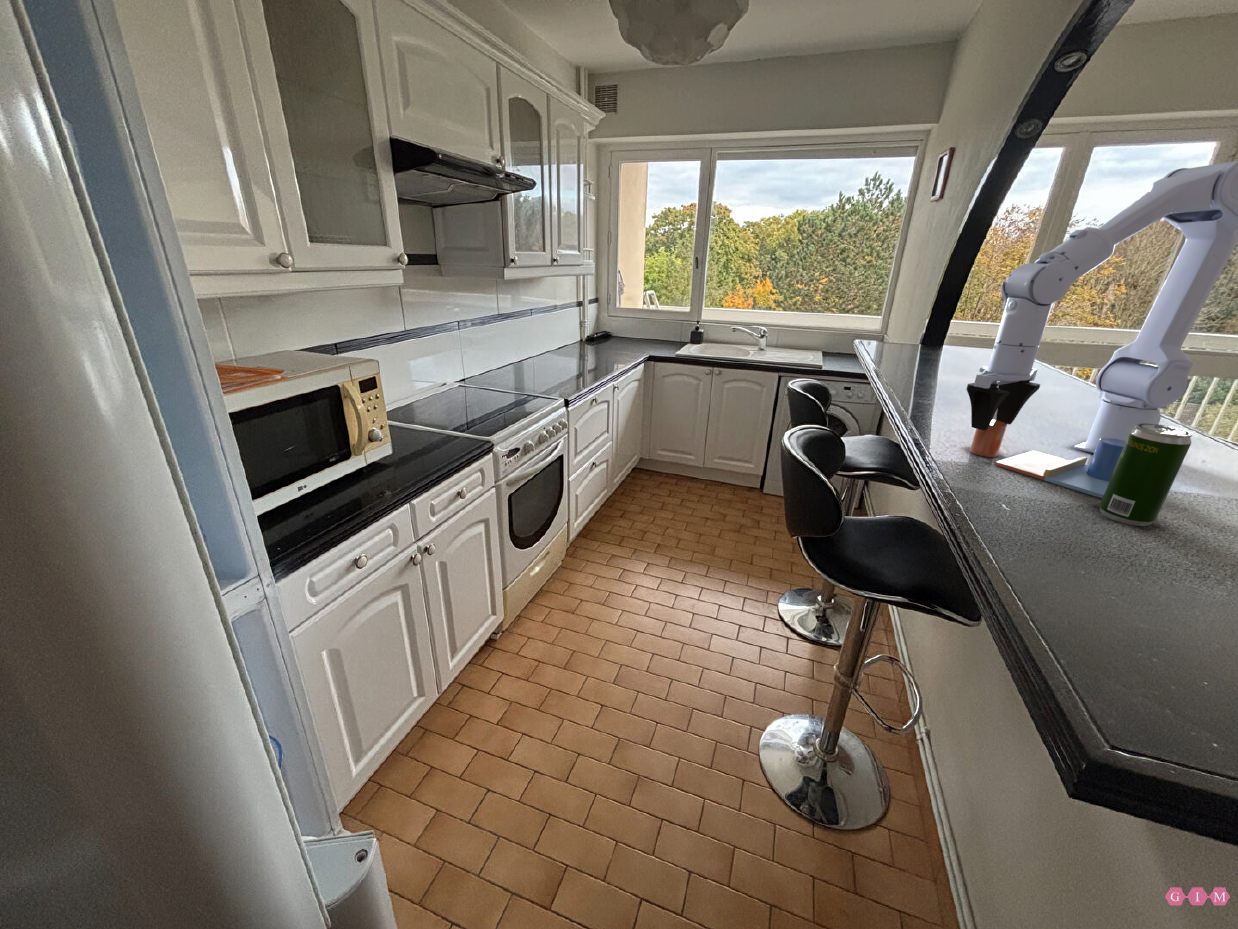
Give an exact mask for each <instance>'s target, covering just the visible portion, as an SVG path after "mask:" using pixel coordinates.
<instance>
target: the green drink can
mask: <svg viewBox="0 0 1238 929" xmlns="http://www.w3.org/2000/svg"><path fill="white" fill-rule="evenodd" d="M1192 437H1193V432H1191V431H1189V430H1186V429H1183V428H1180V427H1176V426H1170V425H1164V424H1160V423H1159V424H1149V423H1138V424H1136V425H1135V428H1134V429H1132V430H1131V431H1130V433H1129V435H1128V438H1127V440H1126V443H1125V445H1124V447H1123V450H1122V452H1121V455H1120V457H1119V460H1118V462H1117V464H1116V467H1115V469H1114V472H1113V474H1112V476H1111V479H1110V481H1109V484H1108V486H1107V489H1106V491H1105V493H1104V496H1103V498H1101V500H1100V503H1099V512H1100V514H1101V515H1103V517H1106V518H1107V519H1109V520H1111V521H1115V522H1117V523H1121V524H1125V525H1129V526H1135V527H1147V526H1150V525H1152V524H1153V523H1154V522H1156V520H1157V518H1158V516H1159V514H1160V512H1161V510H1162V507H1163V505H1164V503H1165V501H1166V499H1167V497H1168V495H1169V492H1170V490H1171V488H1172V486H1173V484H1174V482H1175V480H1176V477H1177V475H1178V474H1179V471H1180V469H1181V467H1182V465H1183V462H1184V460H1185V458H1186V457H1187V456H1186V455H1187V454H1188V452H1189V450H1190V447H1191V445H1192V439H1191V438H1192Z"/></svg>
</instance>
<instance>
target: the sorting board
mask: <svg viewBox="0 0 1238 929" xmlns="http://www.w3.org/2000/svg"><path fill="white" fill-rule="evenodd" d="M1087 460H1088V457H1086V456H1081V457H1080V456H1079V457H1077V458H1074V459H1071V460H1070V459H1066V458H1063V457H1059V456H1054V455H1051V454H1047V453H1044V452H1041V451H1038V450H1031V451H1030V450H1029V451H1027V452H1024V453H1020V454H1015V455H1013V456H1010V457H1007V458H1006V457H1005V458H1003V459H1000V460H997V461H995V462H994V464H993V465H994V466H995V467H999V468H1003V469H1006V470H1009V471H1013V472H1015V473H1018V474H1022V475H1025V476H1028V477H1031V478H1035V479H1038V480H1041V481H1044V482H1048V483H1051V484H1054V485H1057V486H1060V487H1064V488H1066V489H1070V490H1073V491H1077V492H1079V493H1082V494H1087V495H1089V496H1092V497H1096V498H1099V499H1102V498H1103V496H1104V493H1105V491H1106V489H1107V486H1108V484H1109V481H1105V480H1101V479H1097V478H1094V477H1091V476H1089V475H1088V474H1087V470H1088V468H1089V465H1088V464H1087Z"/></svg>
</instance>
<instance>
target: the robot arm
mask: <svg viewBox="0 0 1238 929" xmlns="http://www.w3.org/2000/svg"><path fill="white" fill-rule="evenodd" d="M1162 219H1164V220H1166V221H1167V222H1168V223H1169V224H1170V225H1172V226H1173V227H1174V228H1176V229H1177V230H1179V231H1181V232H1182V234H1183V236H1184V237H1185V241H1184V244H1183V245H1182V248H1181V250H1180V251H1179V253H1178V255H1177V257H1176V259H1175V261H1174V263H1173V265H1172V268H1171V269H1170V271H1169V273H1168V275H1167V277H1166V278H1165V281H1164V283H1163V285H1162V287H1161V289H1160V291H1159V293H1158V294H1157V296H1156V299H1155V301H1154V303H1153V305H1152V307H1151V309H1150V311H1149V313H1148V315H1147V316H1146V318H1145V320H1144V323H1143V325H1142V326H1141V329H1140V330H1139V332H1138V335H1137V336H1136V339H1135V340H1134V341H1133V342H1131V343H1129V344H1127V345H1124V346H1122V347H1121V348H1118V349H1116V350H1114V353H1113V354H1112V356H1111V358H1110V360H1109V361H1108V362H1107V363H1106V364H1105V365H1104V366H1103V367H1102V368H1101V369H1100V371H1099V372H1098V374H1097V376H1096V380H1095V384H1096V389H1097V391H1098V392H1100V393H1099V396H1098V398H1101V399H1102V400H1101V401H1100V405H1099V408H1098V410H1097V412H1096V414H1095V418H1094V421H1093V423H1092V426H1091V429H1090V431H1089V434H1088V436H1087V439H1086V441H1085V442H1082V443H1079V444H1075V445H1074V446H1073V448H1074V449H1075V450H1079V451H1080V450H1081V451H1084V452H1088V453H1092V454H1094V452H1095V450H1096V447H1097V445H1098V442H1099V440H1100V439H1101V438H1111V439H1118V440H1123V441H1126V440H1127V438H1128V435H1129V433H1130V431H1131V430H1132V429H1134V428H1135V425H1136V424H1138V423H1149V424H1159V425H1160V422H1161V419H1162V417H1161V411H1160V410H1162V409H1163V410H1164V409H1167V407H1168V406H1170V405H1171V404H1173V403H1175V402H1176V401H1177V400H1179V399H1181V397H1182V395H1183V394H1184V393H1185V392H1186V389H1187V386H1188V380H1189V379H1188V378H1189V375H1190V372H1191V371H1192V367H1193V366H1194V362H1193V361H1192V360H1191V358H1190V357H1189V356H1188V355H1187V354H1186V353H1185V352H1184V351H1183V350H1182V346H1183V344H1184V342H1185V341H1186V339H1187V337H1188V335H1189V334H1190V331H1191V329H1192V327H1193V326H1194V324H1195V322H1196V320H1197V319H1198V316H1199V314H1201V312H1202V308H1203V307H1204V305H1205V303H1206V302H1207V300H1208V298H1209V297H1210V295H1211V293H1212V290H1213V289H1214V287H1215V285H1216V283H1217V281H1218V280H1219V278H1220V276H1221V273H1222V272H1223V270H1224V268H1225V266H1226V264H1227V263H1228V261H1229V259H1230V257H1231V255H1232V254H1233V251H1234V250H1235V248H1236V246H1237V244H1238V160H1235V161H1228V162H1220V163H1216V164H1215V163H1214V164H1209V165H1203V166H1201V165H1200V166H1195V167H1190V168H1188V167H1182V168H1177V169H1175V170H1172V171H1170V172H1169V173H1167V174H1166V175H1165V176H1164V177H1162V178H1160V179H1158V180H1155V181H1154V182H1153V183H1152V184H1151V186H1150V188H1149V190H1148V191H1147V192H1145V194H1143V195H1142V196H1140V197H1139V198H1138V199H1137V200H1135V201H1134V202H1133V203H1131V204H1130V205H1128V206H1126V208H1124V209H1123V210H1122V211H1120V212H1118V213H1117V214H1116V215H1115V216H1113V217H1112V218H1110V219H1109V220H1108V221H1106V222H1105V223H1104V224H1103V225H1101V226H1100V227H1099V228H1098V227H1097V228H1096V227H1086V228H1083V229H1075V230H1074V231H1073V232H1070V234H1068V239H1066V240H1065V241H1064V242H1062V243H1060V244H1059V245H1057V246H1055V247H1054V248H1053V249H1052V250H1050V251H1046V252H1045V251H1044V252H1043V253H1041V254H1040V255H1039V256H1038V259H1036V260H1035V261H1034V263H1023V264H1020V265H1019V266H1017V267H1015V268H1014V269H1013V270H1012V271H1011V272H1010V273H1009V274H1008V276H1007V277H1006V279H1005V280H1004V281H1002V282H1001V285H1000V286H1001V287H1000V290H1001V295H1002V297H1003V304H1002V309H1003V313H1002V316H1001V320H1000V323H999V327H998V330H997V334H996V337H995V342H994V344H993V348H992V351H991V353H990V354H991V355H990V358H989V361H988V364H987V366H982V367H981V366H980V367H979V369H978V372H979V373H977V374H976V376H975V379H974V382H971V383H967V386H966V393H967V394H968V397H969V401H970V412H971V415H970V416H971V417H970V420H971V423H970V424H971V428H973V429H975V430H976V429H980V430H987V428H988V427H989V425H990V423H991V421H992V420H994V417H996V418H995V420H996V421H1001V422H1004V423H1006V424H1007V425H1012V424H1013V422H1014V421H1015V419H1016V418H1017V416H1018V414H1019V413H1020V412H1021V410H1022V409H1023V407H1024V405H1025V404H1026V402H1027V401H1028V400H1029V399H1030V398H1031V397H1032V396H1033V395H1034V394H1035V393H1036V392H1038V391H1039V389H1040V388H1041V384H1040V383H1037V382H1033V381H1035V379H1036V376H1037V373H1038V369H1037V368H1033V366H1034V363H1035V360H1036V358H1037V354H1038V350H1039V348H1040V345H1041V341H1042V339H1043V335H1044V332H1045V329H1046V326H1047V323H1048V320H1049V318H1050V317H1049V316H1050V314H1051V310H1052V308H1053V306H1054V303H1056V302H1059V301H1061V300H1062V299H1063V298H1065V296H1066V295H1067V294H1068V292H1069V291H1070V288H1071V287H1072V285H1073V284H1074V283H1076V282H1077V280H1078V279H1080V278H1081V277H1083V276H1085V275H1086V274H1088V273H1089V272H1091V271H1092V270H1094V269H1095V268H1097V267H1098V266H1100V265H1102V264H1103V263H1104V262H1106V261H1107V260H1109V259H1110V258H1111V257H1112V256H1113V254H1114V253H1115V252H1114V251H1115V247H1116V246H1117V245H1118V244H1121V243H1122V242H1124V241H1126V240H1127V239H1129V238H1131V237H1133V236H1135V234H1137V233H1139V232H1141V231H1142V230H1144V229H1146V228H1148V227H1150V226H1152V225H1153V224H1155V223H1156V222H1159V221H1161V220H1162ZM1144 361H1146V362H1152V363H1154V364H1150V363H1143V362H1144ZM1155 364H1156V365H1155ZM995 414H996V416H995Z"/></svg>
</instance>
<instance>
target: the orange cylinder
mask: <svg viewBox="0 0 1238 929" xmlns="http://www.w3.org/2000/svg"><path fill="white" fill-rule="evenodd" d="M1007 426H1008V424H1006V423H1004V422H1001V421H996V419H992V421H991V423H990V425H989V427H988V428H987V430H980V429H976V428H975V432H974V436H973V438H972V442H971V444H970V448H969V453H972V454H974V455H977V456H980V457H986V458H995V457H998V455H999V452H1000V449H1001V446H1002V443H1003V440H1004V437H1005V434H1006V430H1007Z"/></svg>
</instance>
